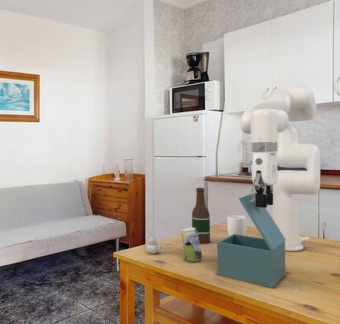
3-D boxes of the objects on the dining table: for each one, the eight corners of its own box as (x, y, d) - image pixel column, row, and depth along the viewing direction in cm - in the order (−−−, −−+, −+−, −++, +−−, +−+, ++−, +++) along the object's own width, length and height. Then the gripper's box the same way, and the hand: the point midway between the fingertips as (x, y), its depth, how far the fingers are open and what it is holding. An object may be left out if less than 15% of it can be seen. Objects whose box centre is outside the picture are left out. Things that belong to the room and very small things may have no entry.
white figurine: (147, 250, 139) (146, 231, 139) (163, 252, 137) (162, 232, 137) (144, 254, 134) (143, 234, 134) (160, 256, 132) (160, 236, 132)
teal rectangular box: (217, 274, 112) (217, 242, 111) (233, 263, 121) (233, 233, 121) (272, 287, 100) (272, 251, 100) (285, 274, 110) (285, 241, 109)
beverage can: (203, 263, 123) (202, 230, 122) (182, 262, 124) (181, 230, 124) (201, 257, 129) (200, 226, 128) (181, 256, 130) (180, 226, 130)
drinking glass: (245, 253, 133) (245, 215, 132) (247, 258, 126) (247, 218, 126) (226, 251, 135) (226, 214, 134) (227, 257, 128) (227, 218, 128)
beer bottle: (212, 240, 152) (211, 187, 151) (208, 244, 145) (207, 189, 144) (194, 238, 156) (193, 186, 155) (189, 242, 149) (188, 188, 148)
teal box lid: (238, 198, 106) (252, 191, 103) (253, 193, 115) (266, 186, 112) (270, 250, 100) (287, 244, 97) (283, 240, 110) (298, 234, 107)
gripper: (267, 148, 97) (268, 211, 98) (285, 147, 110) (285, 203, 110) (241, 149, 103) (241, 208, 103) (260, 148, 115) (261, 201, 115)
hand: (264, 205), depth 107 cm, fingers closed on teal box lid, 5 cm apart
